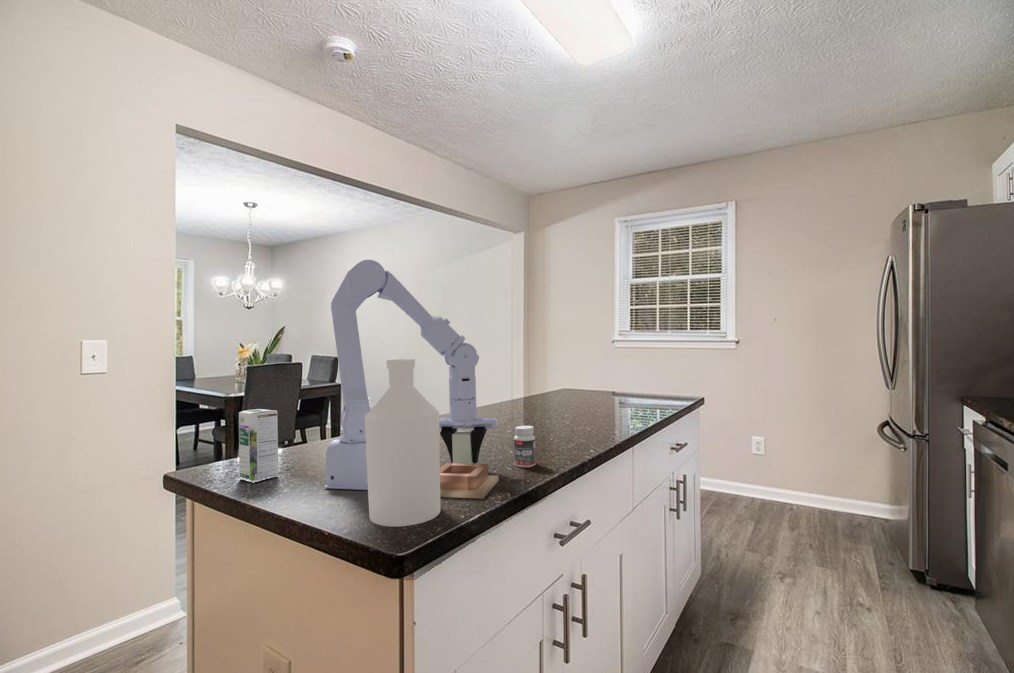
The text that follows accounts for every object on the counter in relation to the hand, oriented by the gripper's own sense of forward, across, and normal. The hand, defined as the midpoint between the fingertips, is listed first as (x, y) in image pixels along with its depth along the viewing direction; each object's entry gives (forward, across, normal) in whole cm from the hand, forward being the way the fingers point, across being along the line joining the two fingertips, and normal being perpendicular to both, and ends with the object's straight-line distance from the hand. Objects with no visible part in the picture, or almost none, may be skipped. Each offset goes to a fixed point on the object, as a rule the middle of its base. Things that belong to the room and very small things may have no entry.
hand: (464, 462), depth 105 cm
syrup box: (+2, -43, -8) cm, 43 cm away
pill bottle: (+2, +12, +5) cm, 14 cm away
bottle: (+2, -3, -26) cm, 26 cm away
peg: (+2, 0, 0) cm, 2 cm away
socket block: (+2, +2, -12) cm, 13 cm away
